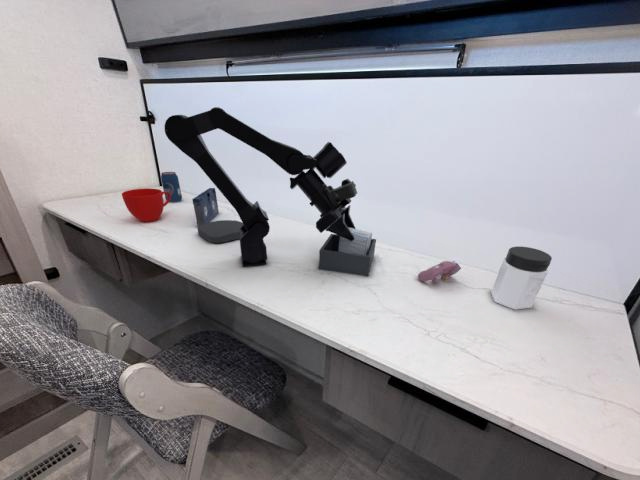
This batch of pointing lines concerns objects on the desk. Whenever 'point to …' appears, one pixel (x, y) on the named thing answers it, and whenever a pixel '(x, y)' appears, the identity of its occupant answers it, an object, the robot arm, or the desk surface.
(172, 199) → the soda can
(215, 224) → the media streaming box
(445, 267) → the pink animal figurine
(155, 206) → the ceramic cup
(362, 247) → the medicine box
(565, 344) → the desk surface
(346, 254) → the storage bin
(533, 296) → the jar
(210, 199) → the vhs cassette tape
